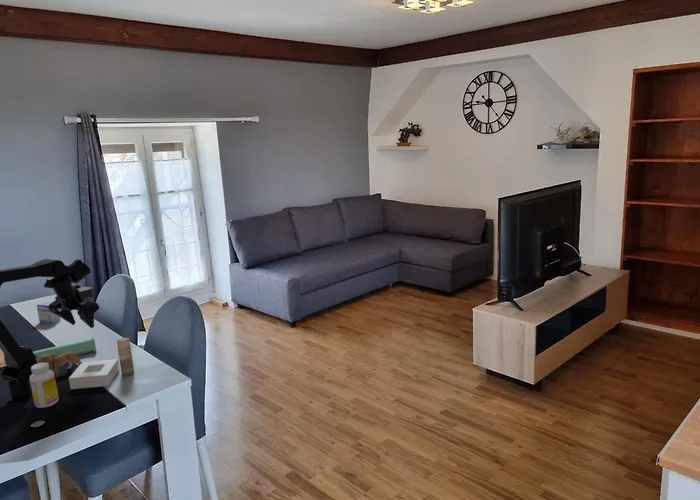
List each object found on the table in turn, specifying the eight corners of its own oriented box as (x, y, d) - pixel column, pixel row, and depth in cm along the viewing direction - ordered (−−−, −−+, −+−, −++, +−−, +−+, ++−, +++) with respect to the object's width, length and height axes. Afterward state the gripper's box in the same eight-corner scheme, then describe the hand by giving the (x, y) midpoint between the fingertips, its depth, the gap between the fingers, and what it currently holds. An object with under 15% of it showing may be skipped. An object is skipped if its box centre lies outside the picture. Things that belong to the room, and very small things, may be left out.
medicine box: (39, 322, 231) (35, 304, 229) (47, 319, 235) (44, 301, 233) (53, 324, 229) (49, 305, 227) (61, 320, 233) (57, 302, 231)
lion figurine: (47, 383, 174) (42, 358, 172) (38, 380, 176) (33, 355, 174) (87, 365, 186) (83, 342, 184) (77, 362, 189) (74, 339, 187)
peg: (132, 375, 177) (127, 342, 174) (120, 376, 176) (115, 343, 173) (135, 370, 181) (130, 337, 178) (123, 371, 180) (118, 338, 177)
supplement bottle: (62, 396, 164) (55, 359, 161) (54, 407, 158) (46, 369, 155) (40, 398, 163) (33, 361, 160) (30, 409, 157) (23, 371, 154)
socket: (108, 385, 170) (106, 374, 169) (70, 389, 169) (68, 378, 168) (119, 369, 182) (117, 359, 181) (84, 372, 180) (82, 362, 179)
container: (17, 353, 184) (93, 336, 196) (19, 353, 190) (93, 337, 201) (20, 369, 184) (96, 351, 195) (22, 369, 189) (96, 352, 201)
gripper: (101, 280, 179) (118, 314, 187) (63, 275, 186) (81, 309, 194) (77, 299, 171) (96, 334, 179) (38, 293, 178) (58, 328, 186)
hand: (83, 325), depth 185 cm, fingers open, 9 cm apart
